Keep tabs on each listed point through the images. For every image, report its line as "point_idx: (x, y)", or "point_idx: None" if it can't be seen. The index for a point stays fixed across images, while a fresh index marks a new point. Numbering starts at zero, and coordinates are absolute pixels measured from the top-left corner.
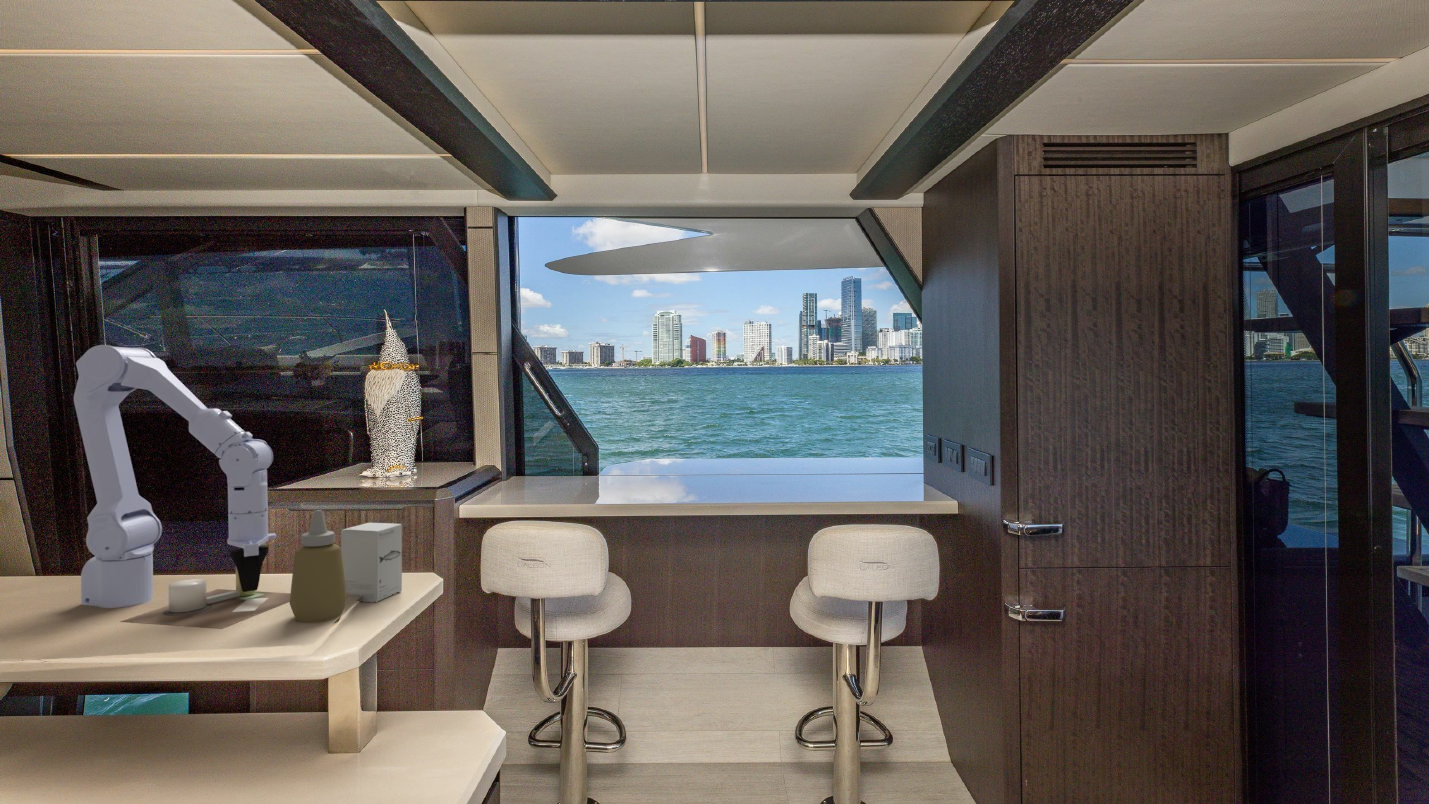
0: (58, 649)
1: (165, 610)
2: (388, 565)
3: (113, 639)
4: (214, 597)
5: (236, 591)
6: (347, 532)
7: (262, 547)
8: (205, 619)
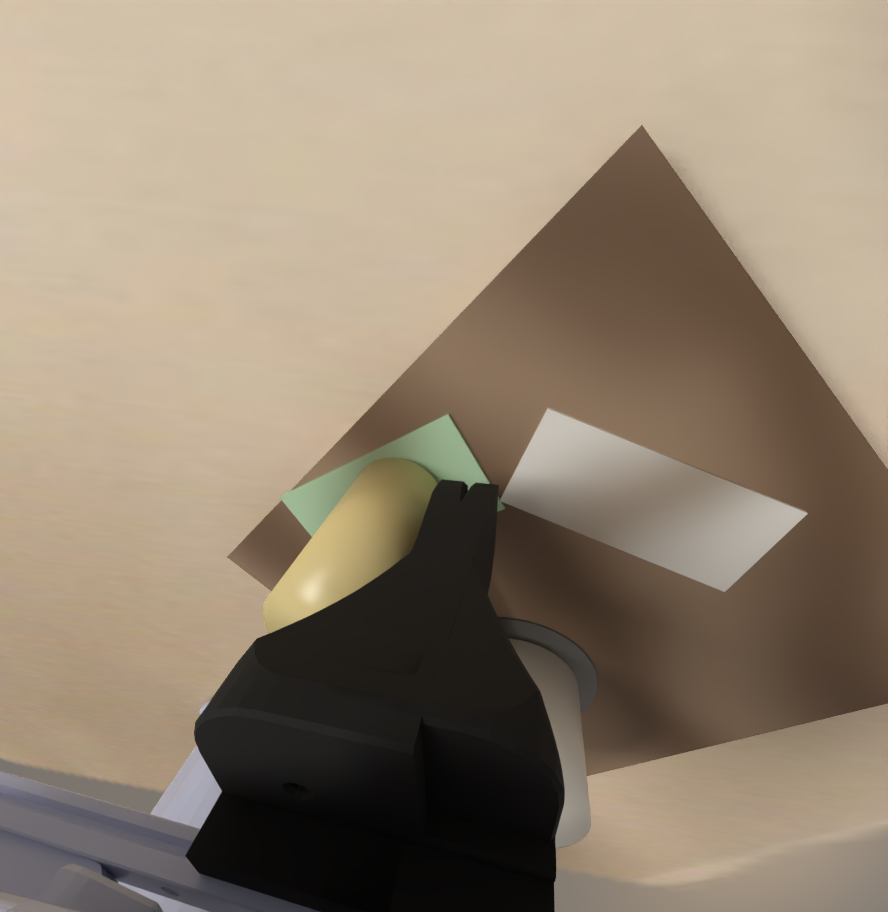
0: (626, 844)
1: None
2: None
3: (633, 788)
4: None
5: None
6: None
7: (364, 785)
8: (747, 672)
